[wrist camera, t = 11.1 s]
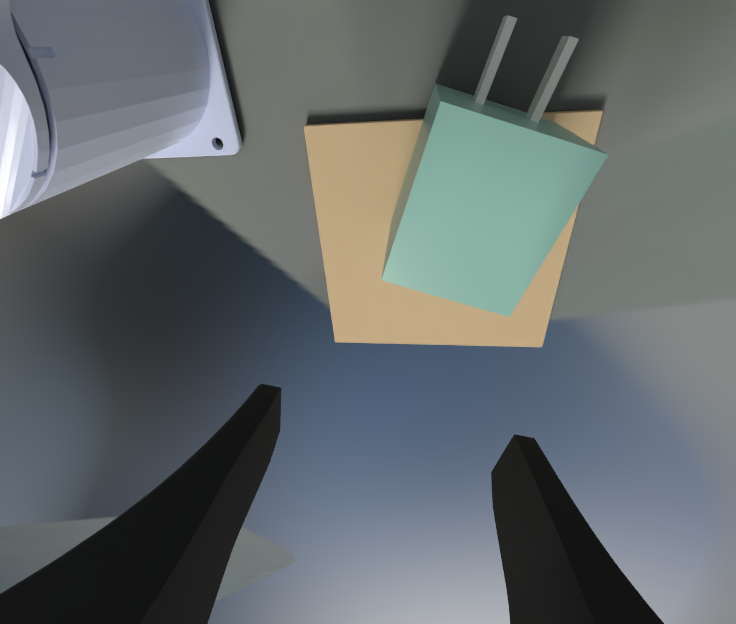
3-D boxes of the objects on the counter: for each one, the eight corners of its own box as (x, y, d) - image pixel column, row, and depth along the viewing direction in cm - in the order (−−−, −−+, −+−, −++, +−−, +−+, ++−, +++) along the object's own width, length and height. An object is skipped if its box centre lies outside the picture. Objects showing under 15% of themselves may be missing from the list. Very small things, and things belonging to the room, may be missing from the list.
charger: (390, 222, 18) (381, 280, 14) (458, 7, 14) (477, -10, 9) (488, 251, 19) (509, 317, 14) (589, 50, 14) (669, 55, 9)
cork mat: (336, 337, 24) (335, 342, 23) (306, 124, 17) (303, 126, 16) (540, 342, 22) (542, 347, 22) (599, 109, 15) (603, 110, 15)
